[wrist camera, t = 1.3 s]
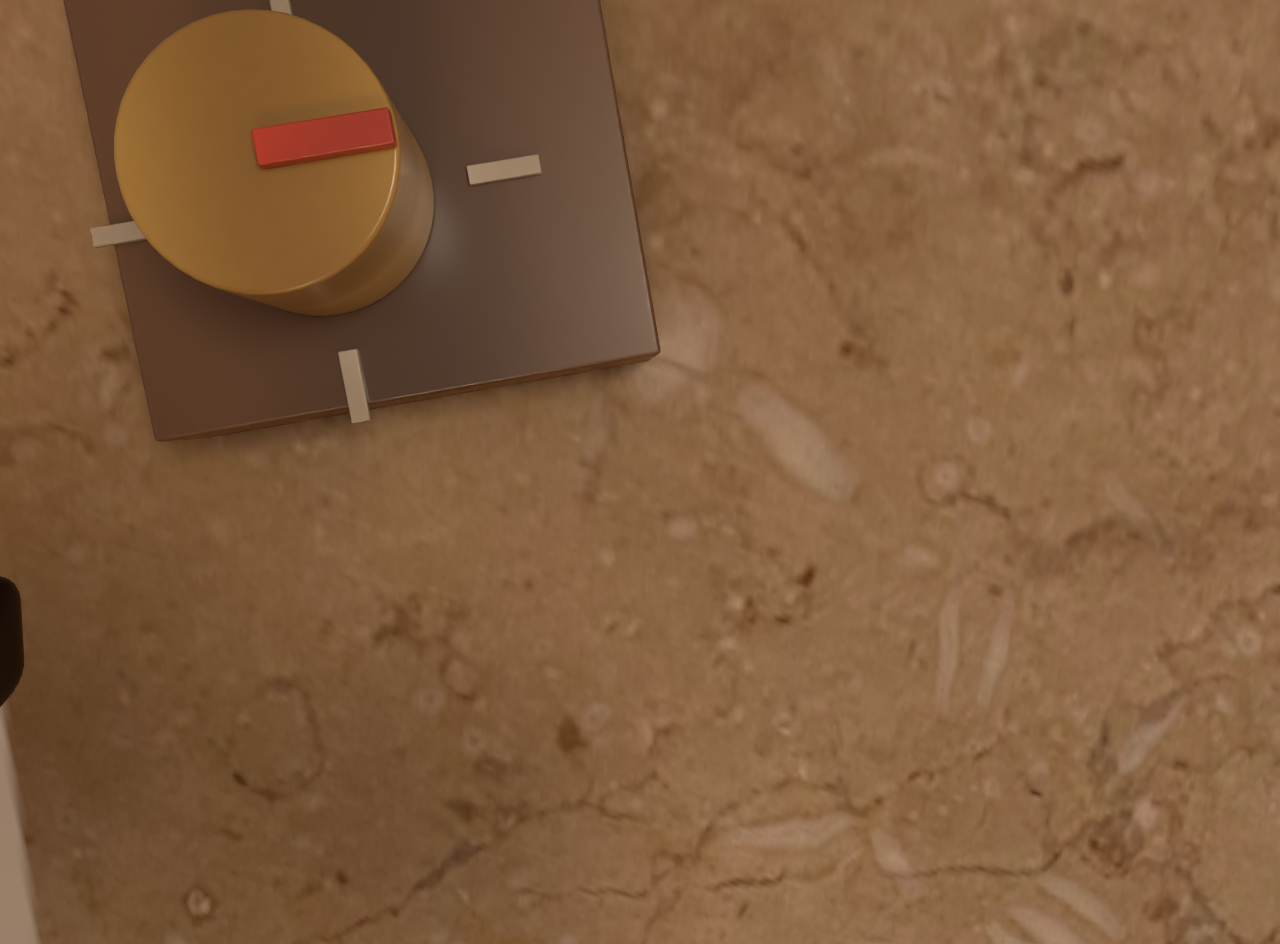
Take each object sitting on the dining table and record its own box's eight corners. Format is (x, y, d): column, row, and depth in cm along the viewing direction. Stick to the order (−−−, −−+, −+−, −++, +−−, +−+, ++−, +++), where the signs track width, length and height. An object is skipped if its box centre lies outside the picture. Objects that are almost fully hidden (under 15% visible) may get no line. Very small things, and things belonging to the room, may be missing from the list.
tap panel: (196, 453, 24) (138, 460, 21) (99, -19, 23) (23, -86, 20) (653, 373, 24) (664, 368, 21) (572, -92, 24) (571, -169, 20)
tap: (227, 334, 21) (135, 314, 16) (181, 104, 20) (74, 24, 16) (453, 295, 21) (421, 266, 17) (411, 67, 21) (367, -22, 16)
